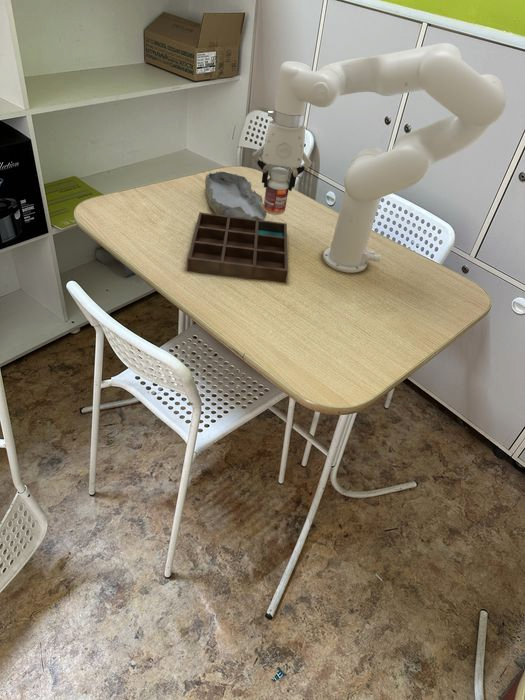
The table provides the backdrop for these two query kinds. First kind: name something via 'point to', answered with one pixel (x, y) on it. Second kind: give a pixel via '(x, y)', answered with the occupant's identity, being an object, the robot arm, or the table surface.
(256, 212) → the stone
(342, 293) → the table surface
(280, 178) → the pill bottle
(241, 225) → the grid board
